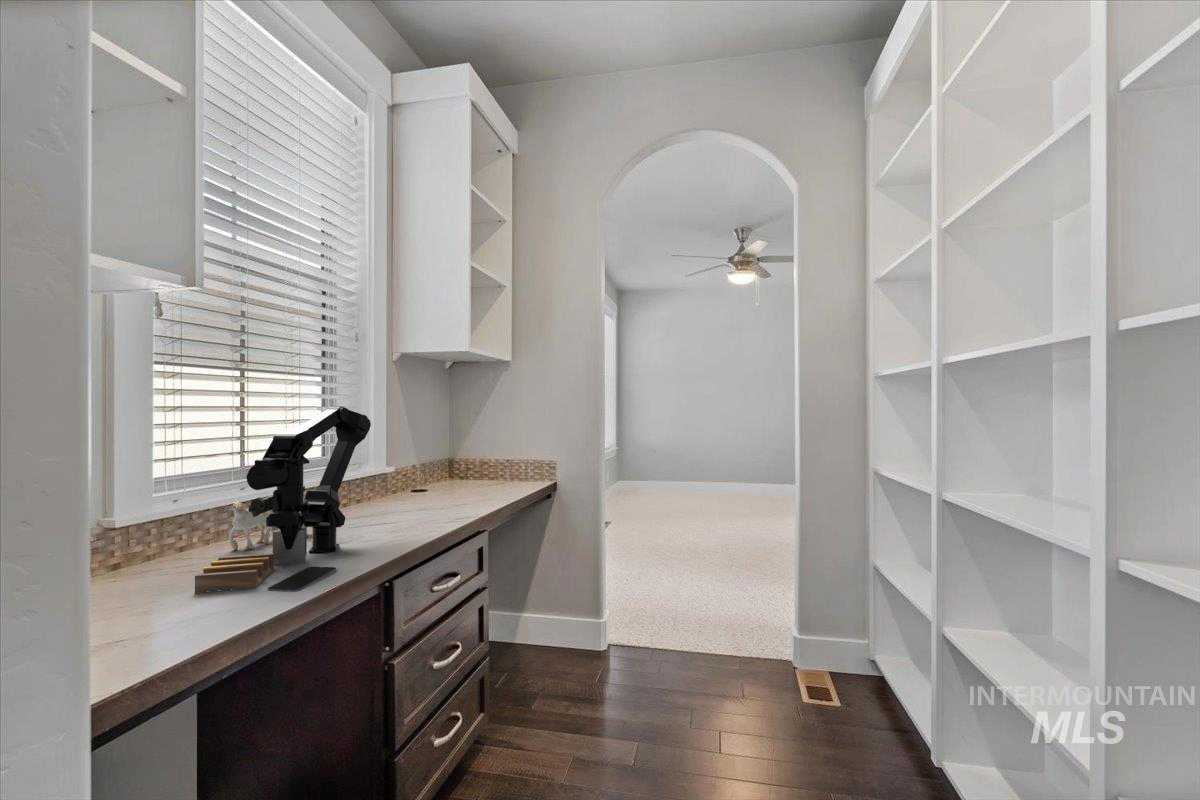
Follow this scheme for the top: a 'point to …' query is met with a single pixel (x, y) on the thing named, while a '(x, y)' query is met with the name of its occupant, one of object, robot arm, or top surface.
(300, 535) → the block
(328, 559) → the top surface
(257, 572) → the rack
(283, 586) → the smartphone
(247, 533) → the unicorn figurine
